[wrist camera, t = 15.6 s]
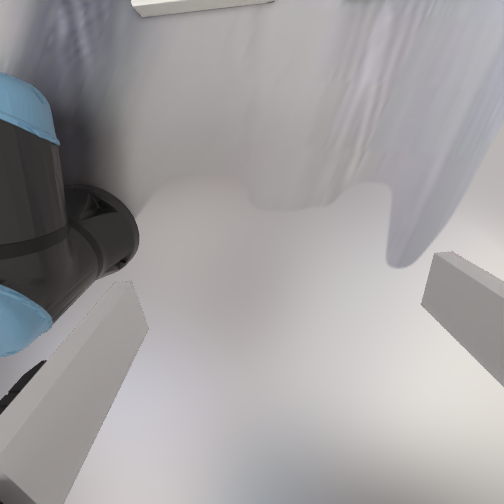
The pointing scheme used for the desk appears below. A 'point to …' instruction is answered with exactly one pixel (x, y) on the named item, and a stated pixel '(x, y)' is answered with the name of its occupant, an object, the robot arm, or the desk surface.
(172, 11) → the tray
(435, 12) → the desk surface
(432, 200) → the desk surface
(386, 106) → the desk surface
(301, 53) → the desk surface
